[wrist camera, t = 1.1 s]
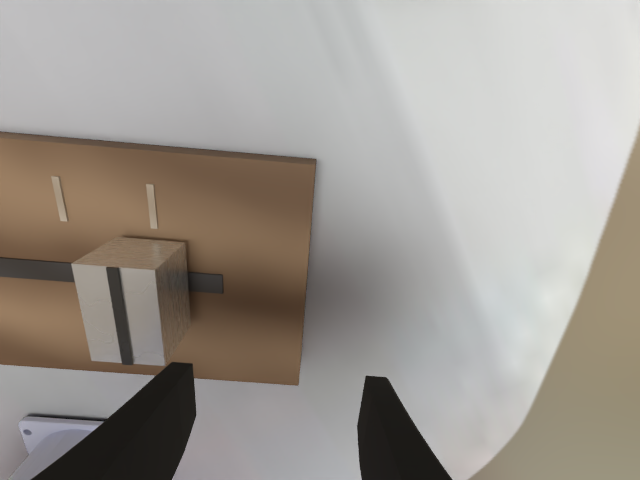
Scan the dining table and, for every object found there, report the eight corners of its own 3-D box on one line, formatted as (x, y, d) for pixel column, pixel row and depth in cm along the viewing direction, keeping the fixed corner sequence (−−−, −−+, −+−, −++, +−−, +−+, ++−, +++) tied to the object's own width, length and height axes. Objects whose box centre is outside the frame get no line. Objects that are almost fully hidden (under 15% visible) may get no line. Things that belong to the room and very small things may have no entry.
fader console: (300, 359, 20) (298, 386, 18) (-138, 328, 19) (-191, 352, 17) (316, 158, 15) (315, 165, 14) (-248, 110, 15) (-334, 109, 13)
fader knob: (191, 325, 16) (164, 367, 13) (129, 320, 16) (89, 362, 13) (185, 242, 14) (153, 271, 12) (117, 237, 14) (68, 264, 12)
